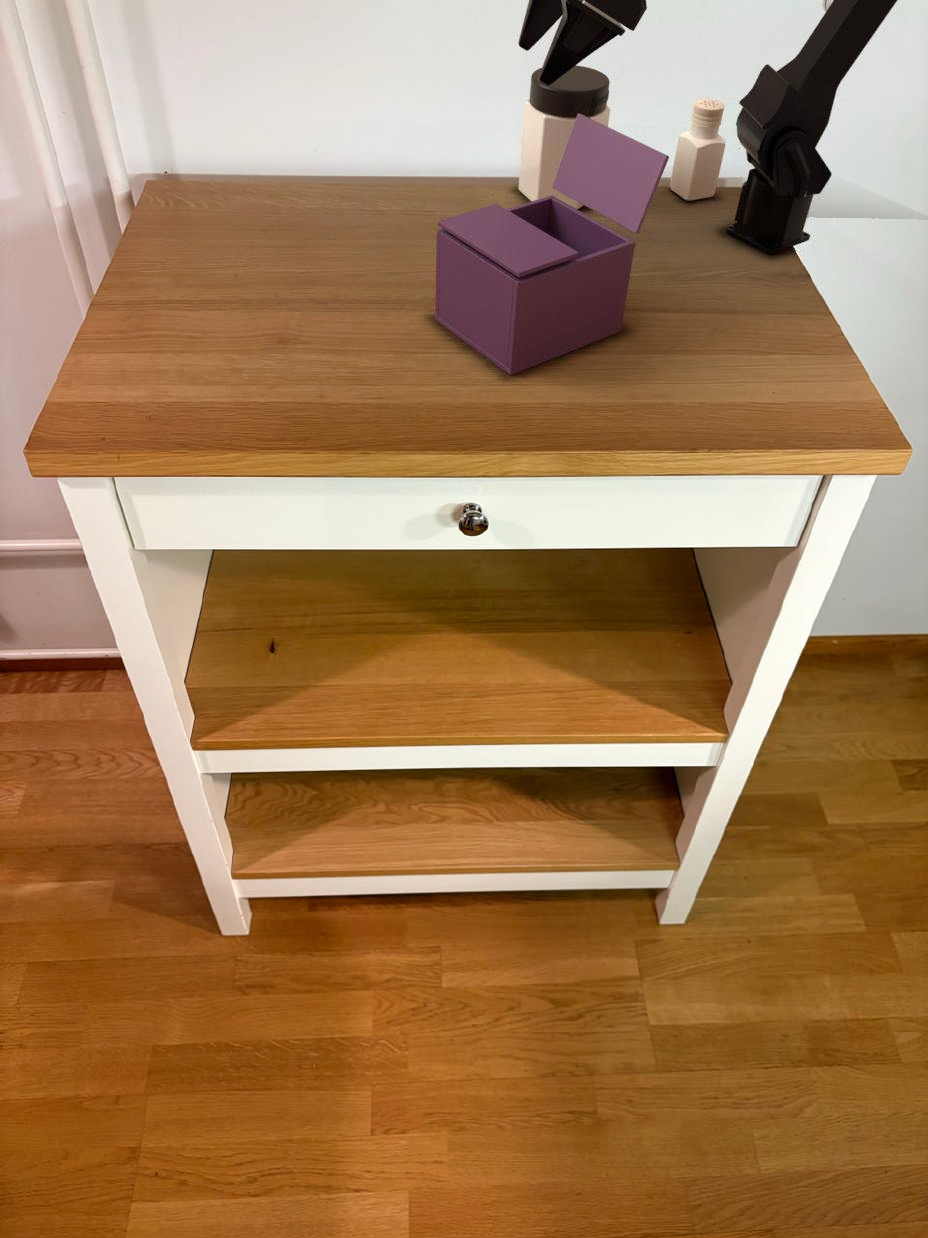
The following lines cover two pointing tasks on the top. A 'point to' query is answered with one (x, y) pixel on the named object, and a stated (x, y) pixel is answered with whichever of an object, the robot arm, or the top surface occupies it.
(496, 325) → the box
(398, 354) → the top surface
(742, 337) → the top surface
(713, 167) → the pepper shaker
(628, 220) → the lid
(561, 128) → the jar
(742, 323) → the top surface
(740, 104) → the robot arm
